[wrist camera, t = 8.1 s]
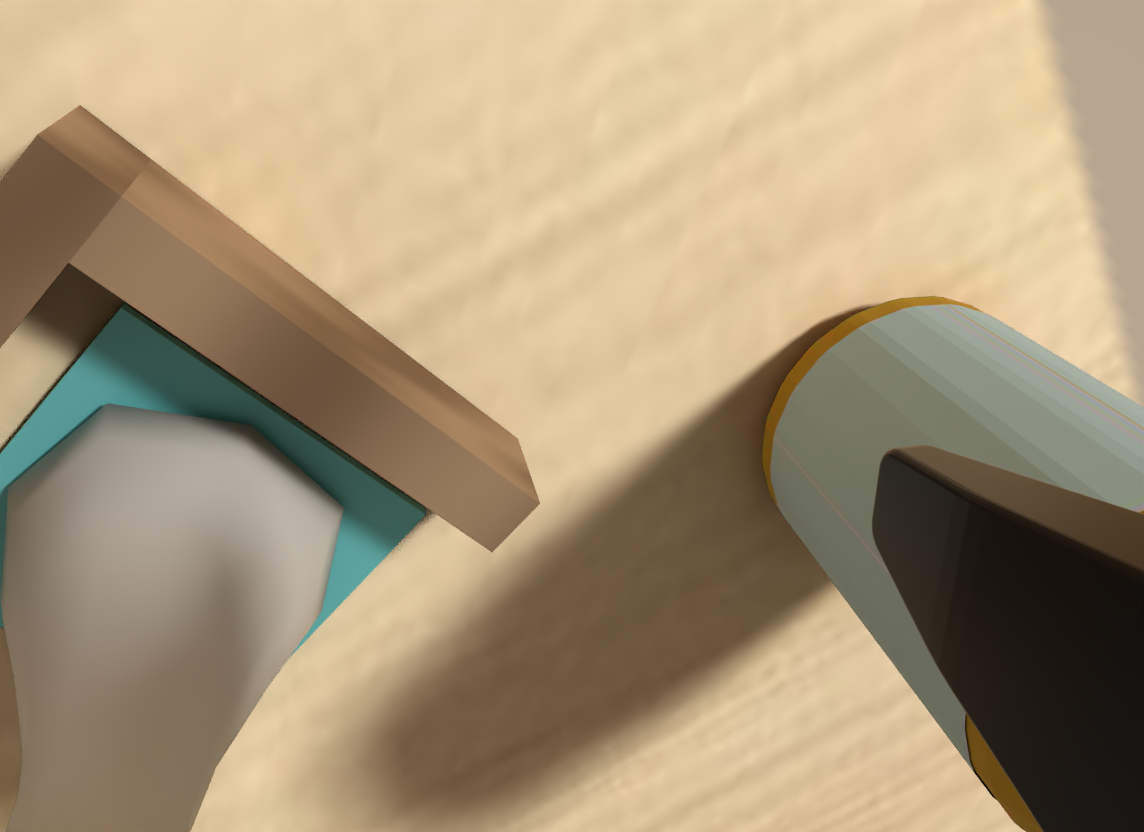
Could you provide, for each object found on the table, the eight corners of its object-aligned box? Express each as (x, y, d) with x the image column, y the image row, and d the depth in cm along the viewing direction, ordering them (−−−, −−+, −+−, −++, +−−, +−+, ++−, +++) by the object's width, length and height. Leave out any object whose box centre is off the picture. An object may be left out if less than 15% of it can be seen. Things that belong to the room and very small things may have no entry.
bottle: (765, 296, 23) (1315, 780, 10) (1034, 279, 25) (1831, 688, 11) (741, 548, 26) (1140, 1170, 13) (981, 521, 28) (1562, 1063, 15)
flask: (-55, 607, 22) (-314, 1055, 13) (85, 342, 20) (-112, 660, 12) (251, 711, 25) (203, 1135, 16) (398, 486, 23) (434, 830, 14)
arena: (518, 438, 24) (539, 503, 21) (139, 833, 26) (116, 933, 24) (79, 105, 19) (37, 134, 16) (-329, 633, 21) (-423, 732, 19)
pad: (424, 507, 24) (425, 514, 24) (218, 725, 25) (216, 733, 25) (123, 302, 20) (121, 307, 20) (-96, 568, 22) (-101, 577, 22)
